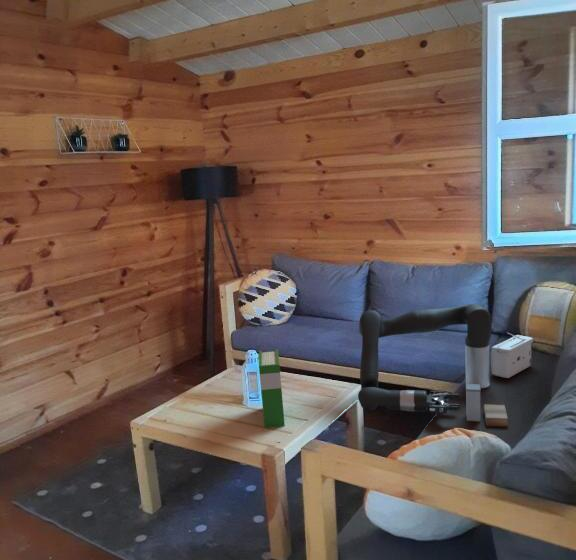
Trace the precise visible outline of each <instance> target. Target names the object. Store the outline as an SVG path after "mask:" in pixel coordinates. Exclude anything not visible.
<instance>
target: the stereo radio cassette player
mask: <svg viewBox="0 0 576 560" xmlns="http://www.w3.org/2000/svg"><path fill="white" fill-rule="evenodd" d="M506 334H508V335H510V336H512V337H510V338H508V339H507V340H504V341H502V342H500V343H498V344H495V345H493V346H492V347H491V353H490V355H491V356H490V360H491V361H490V363H491V364H490V366H491V367H490V368H491V374H492V375H494V376H495V377H501V378H504V379H507V378H508V379H509V378H511V377H513V376H515V375H517V374H518V373H520V372H522V371H524V370H527V368H529V367H531V365H532V343H534V338H533V337H530V336H525V335H520V334H516V335H514V334H512V333H509V332H508V331H507V332H506Z"/></svg>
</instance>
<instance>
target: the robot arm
mask: <svg viewBox="0 0 576 560" xmlns="http://www.w3.org/2000/svg"><path fill="white" fill-rule="evenodd" d="M458 325H460V326H461V325H465V326H466V327H467V330H466V333H467V334H466V337H465V338H464V346H465V347H464V350H465V351H464V353H465V356H464V357H465V385H466V384H480V389H486V388H489V386H490V342H491V341H490V340H491V337H492V316H491V313H490V312H489V311H488V309H486V308H485V307H484V306H483V305H481V304H478V303H469V304H464V305H458V306H454V307H440V308H426V309H425V308H424V309H414V310H411V311H409V312H405V313H404V314H401V315H399V316H396V317H393V318H384V319H383V318H382V316H381V314H380V313H379V312H378V311H377V310H374V309H373V310H372V309H369V310H366V311H364V312H362V314H361V316H360V317H359V325H358V330H359V334H360V336H361V338H362V339H361V341H362V342H361V343H362V344H361V345H362V346H361V355H360V356H361V358H360V365H359V367H360V368H359V381H360V390H359V391H358V392H357V393H358V394H357V399H358V401H359V404H360V407H361V408H362V409H364V411H367V412H373V411H374V410H376V409H377V408H378V407H379V406H380V407H384V408H386V409H387V410H394V411H405V412H423V413H425V412H427V411H428V410H429V413H432V414H445V415H446V414H447V413H448V412H449V411H461V405H460V403H446V402H445V401H460V393H449V392H447V391H448V390H430V391H429V394H428V393H427V390H424V389H423V390H420V389H418V390H417V389H416V390H415V389H406V390H405V389H404V390H398V389H397V390H396V389H394V390H393V389H391V390H390V389H384V388H380V387H379V375H380V374H379V373H380V372H379V368H380V367H379V341H380V340H379V339H380V338H384V337H390V336H396V335H408V334H422V333H430V332H437V331H439V330H441V329H444V328H446V327H450V326H458Z"/></svg>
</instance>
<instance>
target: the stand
mask: <svg viewBox="0 0 576 560" xmlns="http://www.w3.org/2000/svg"><path fill="white" fill-rule="evenodd" d="M483 410H484V411H483V412H484V413H483V414H484V420H485V426H486V427H488V426H489V427H504V428H505V427H508V424H509V423H508V421H509V420H508V415H507V409H506V406H505V404H489V403H486V404H485V403H484V404H483Z"/></svg>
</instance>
